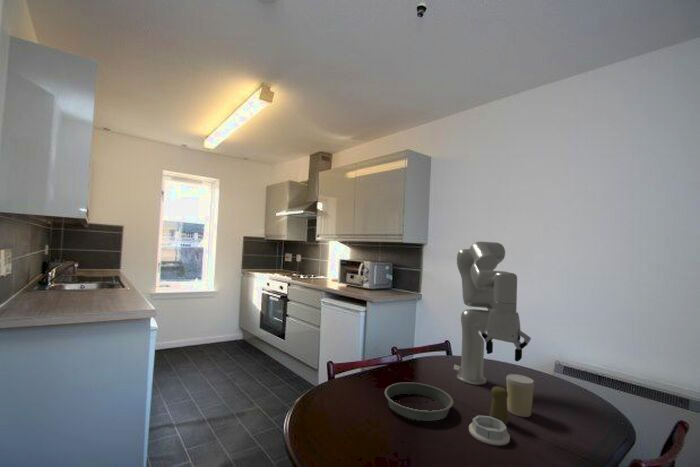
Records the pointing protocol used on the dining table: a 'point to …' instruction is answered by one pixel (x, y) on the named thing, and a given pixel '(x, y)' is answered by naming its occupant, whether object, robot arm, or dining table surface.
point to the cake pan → (421, 390)
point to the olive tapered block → (499, 404)
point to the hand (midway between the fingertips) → (503, 356)
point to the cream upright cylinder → (519, 394)
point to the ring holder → (489, 430)
